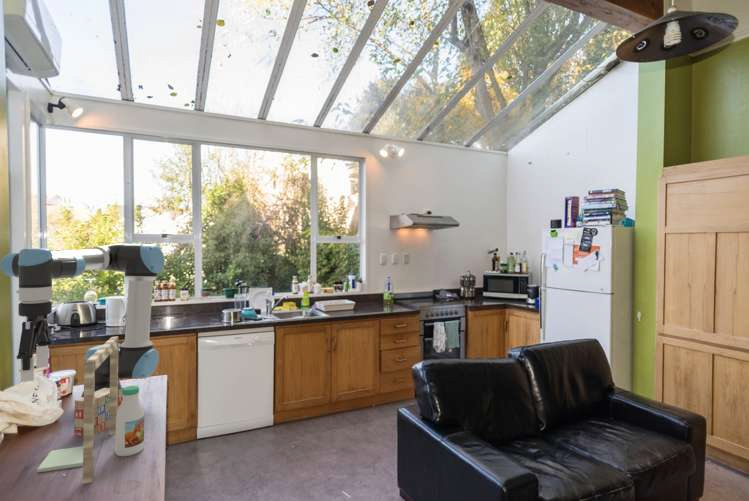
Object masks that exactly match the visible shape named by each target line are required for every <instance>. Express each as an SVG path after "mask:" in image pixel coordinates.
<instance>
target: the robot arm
mask: <svg viewBox="0 0 749 501" xmlns="http://www.w3.org/2000/svg"><path fill="white" fill-rule="evenodd" d="M165 260H166V259H165V255H164V253H163V251H162V248H160V246H157V245H156V244H150V243H149V244H148V243H113V244H107V245H97V246H93V247H91V248H89V249H77V250H75V249H74V250H71V249H70V250H56V251H55V250H54V251H52V249H51V248H43V247H42V248H36V247H35V248H33V247H32V248H31V247H30V248H22V249H20V250H19V252H14V253H13V252H10V253H7V254H6V255H4V256H3V257H2V259H1V260H0V270H1V272H2V273H3V274H4V275H5V276H8V277H15V278H18V290H16V294H18V301H19V304H18V308H17V309H18V316H19V317H23V318H24V317H26V321H22V323H21V334H20V341H19V345H18V346H19V347H18V353H17V355H16V360H20V383H23V382H24V383H25V382H34V380H35V368H36V369H41V368H48V367H49V345H52V340H51V335H50V334H51V333H50V329H49V324H48V315H51V314H52V312H53V302H52V301H51V300H52V299H53V280H55V279H69V278H70V279H73V278H75V277H79V276H81V275H82V274H83V273H84V272H85V271H86V270H93V271H97V272H98V271H99V272H101V271H111V272H122V273H124V278H126V280H128V287H127V288H128V289H127V300H126V301H127V304H126V316H125V318H126V319H125V331H124V332H125V333H124V334H125V337H124V341H123V342H122V343H119V342H118V389H121V388H123V386H122V384H121V381H120V380H121V379H132V380H138V379H139V380H141V379H142V380H143V379H147V378H149V377H150V376H152V375H153V373H154V372H155V370H156V369H157V367H158V364H159V361H160V360H159V359H160V355H159V354H160V353H159V352H158V350H156V349H155V348H154V342H152V340H150V336H151V335H150V334H151V333H150V332H151V331H150V330H151V317H152V316H151V315H152V302H153V284H154V281H155V280H156V279H157V278H158V274H159V273H161V272H162V271H163V269H164V267H165V262H166V261H165ZM36 344H37V346H36ZM103 345H104V344H100V345H95V346H93V347H91V348H89V349H87V350H86V352H85V358H84V361H87V360H88V359H89V358H90V357H91V356H92V355H93V354H94V353H95V352H96V351H97V350H98V349H99V348H100V347H101V346H103ZM35 348H36V350H35ZM35 351H36V352H35ZM34 352H35V353H36V355H35V356H36V357H35V356H34ZM35 358H36V362H35ZM103 388H110V355H109V356H108V357H107V358H106V359H105V360H104V361H103V363H102V364H101V365H100V366H99V367H98V368H97V369H96V370H95V392H96V391H98V390H100V389H103ZM81 397H84V390H82V394H81V396H80V398H81Z"/></svg>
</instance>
